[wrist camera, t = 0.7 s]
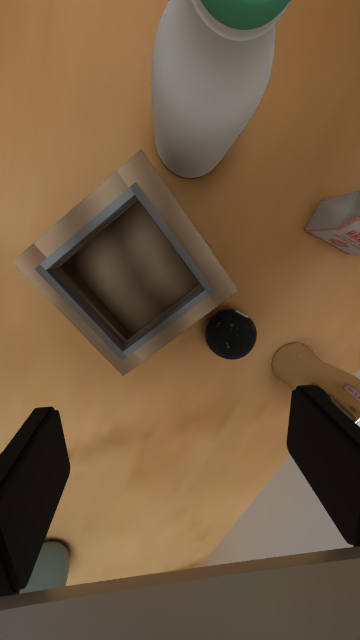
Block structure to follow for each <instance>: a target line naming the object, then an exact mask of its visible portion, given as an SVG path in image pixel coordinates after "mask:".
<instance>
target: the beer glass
mask: <svg viewBox="0 0 360 640" xmlns="http://www.w3.org/2000/svg"><path fill="white" fill-rule="evenodd" d="M272 369H273V372H274V374H275V375H276V376H277V377H278V378H279V379H280V380H281V381H283V382H284V383H286V384H287V385H288V386H289V387H290V388H291V390H292V391H293V390H295V389H296V387H297V386H300V385H313V386H315V387H316V388H317V389H318V390H319V391H320V392H321V393H322V394H324V395H325V396H326V397H327V398H328V399H329V400H330V401H331V402H332V403H334V404H335V405H336V406H337V407H338V408H339V409H340V410H341V411H343V412H344V413H345V414H346V415H347V416H348V417H349V418H350V419H351V420H353V421H354V422H355V423H356V424H357V425H358V426H359V427H360V379H359V378H357V377H355V376H353V375H351V374H350V373H348V372H346V371H343V370H341V369H339V368H337V367H335V366H332V365H330V364H328V363H326V362H323V361H322V360H320V359H319V358H318V357H317V356H316V355H315V354H314V353H313V352H312V350H311V349H310V348H309V347H307V346H306V345H304V344H301V343H290V344H287V345H285V346H283V347H282V348H280V349H279V350H278V351H277V353H276V354H275V356H274V358H273V361H272Z"/></svg>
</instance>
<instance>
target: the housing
mask: <svg viewBox="0 0 360 640" xmlns="http://www.w3.org/2000/svg"><path fill="white" fill-rule="evenodd" d="M12 263H13V264H14V265H15V266H16V267H17V268H18V269H19V270H20V271H21V272H22V273H23V274H24V275H25V276H26V277H27V278H28V279H29V280H30V281H31V282H32V283H33V284H34V285H35V286H36V287H37V288H38V289H39V290H40V291H41V292H42V293H43V295H44V296H45V297H46V298H47V299H48V300H49V301H50V302H51V303H52V304H53V305H54V306H55V307H56V308H57V309H58V310H59V311H60V312H61V313H62V314H63V315H64V316H65V317H66V318H67V319H68V320H69V321H70V322H71V323H72V324H73V325H74V326H75V327H76V328H77V329H78V330H79V331H80V332H81V333H82V334H83V335H84V336H85V337H86V338H87V340H88V341H89V342H90V343H91V344H92V345H93V346H94V347H95V348H96V349H97V350H98V351H99V352H100V353H101V354H102V355H103V356H104V357H105V358H106V359H107V360H108V361H109V362H110V363H111V364H112V365H113V366H114V367H115V368H116V369H117V370H118V371H119V372H120V373H121V374H122V375H123V376H124V375H125V374H127V373H128V372H129V371H131V370H132V369H133V368H135V367H136V366H137V365H139V364H140V363H141V362H143V361H144V360H145V359H147V358H148V357H149V356H151V355H152V354H154V353H155V352H156V351H158V350H159V349H160V348H162V347H163V346H164V345H166V344H167V343H168V342H170V341H171V340H172V339H174V338H175V337H176V336H178V335H179V334H181V333H182V332H183V331H185V330H186V329H187V328H189V327H190V326H191V325H193V324H194V323H195V322H197V321H198V320H199V319H201V318H202V317H203V316H205V315H206V314H208V313H209V312H210V311H212V310H213V309H214V308H216V307H217V306H218V305H220V304H221V303H222V302H224V301H225V300H226V299H228V298H229V297H230V296H232V295H233V294H235V293H236V292H237V291H239V290H238V289H237V287H236V286H235V284H234V283H233V282H232V280H231V279H230V277H229V276H228V274H227V273H226V271H225V270H224V268H223V267H222V266H221V264H220V263H219V261H218V260H217V258H216V257H215V255H214V254H213V252H212V251H211V250H210V248H209V247H208V245H207V244H206V242H205V241H204V239H203V238H202V237H201V235H200V234H199V232H198V231H197V229H196V228H195V226H194V225H193V223H192V222H191V221H190V219H189V218H188V216H187V215H186V213H185V212H184V210H183V209H182V207H181V206H180V205H179V203H178V202H177V200H176V199H175V197H174V196H173V194H172V193H171V192H170V190H169V189H168V187H167V186H166V184H165V183H164V181H163V180H162V178H161V177H160V176H159V174H158V173H157V171H156V170H155V168H154V167H153V165H152V164H151V163H150V161H149V160H148V158H147V157H146V155H145V154H144V152H143V151H142V149H140V150H139V151H138V152H137V153H136V154H135V155H134V156H132V157H131V158H130V159H129V160H128V161H127V162H126V163H125V164H123V165H122V166H121V167H120V168H119V169H118V170H117V171H115V172H114V173H113V174H112V175H111V176H110V177H109V178H107V179H106V180H105V181H104V182H103V183H102V184H101V185H99V186H98V187H97V188H96V189H95V190H94V191H93V192H91V193H90V194H89V195H88V196H87V197H86V198H85V199H83V200H82V201H81V202H80V203H79V204H78V205H77V206H75V207H74V208H73V209H72V210H71V211H70V212H69V213H67V214H66V215H65V216H64V217H63V218H62V219H61V220H59V221H58V222H57V223H56V224H55V225H54V226H53V227H52V228H50V229H49V230H48V231H47V232H46V233H45V234H44V235H42V236H41V237H40V238H39V239H38V240H37V241H36V242H34V243H33V244H32V245H31V246H30V247H29V248H28V249H26V250H25V251H24V252H23V253H22V254H21V255H20V256H18V257H17V258H16V259H15V260H14V261H13V262H12Z"/></svg>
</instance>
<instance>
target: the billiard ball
mask: <svg viewBox="0 0 360 640" xmlns="http://www.w3.org/2000/svg"><path fill="white" fill-rule="evenodd" d="M256 336H257V332H256V327H255V325H254V323H253V321H252V320H251V319H250V318H249V317H248V316H247V315H245V314H244V313H242V312H240V311H237V310H231V309H229V310H223V311H220V312H218V313H217V314H215V315H214V316H213V317H212V318H211V320H210V321H209V323H208V325H207V329H206V341H207V344H208V346H209V347H210V349H211V350H212V351H213V352H214V353H215V354H217V355H218V356H220V357H222V358H225V359H239V358H242V357H244V356H245V355H247V354H248V353H249V352H250V351H251V349H252V348H253V346H254V344H255V341H256Z"/></svg>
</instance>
